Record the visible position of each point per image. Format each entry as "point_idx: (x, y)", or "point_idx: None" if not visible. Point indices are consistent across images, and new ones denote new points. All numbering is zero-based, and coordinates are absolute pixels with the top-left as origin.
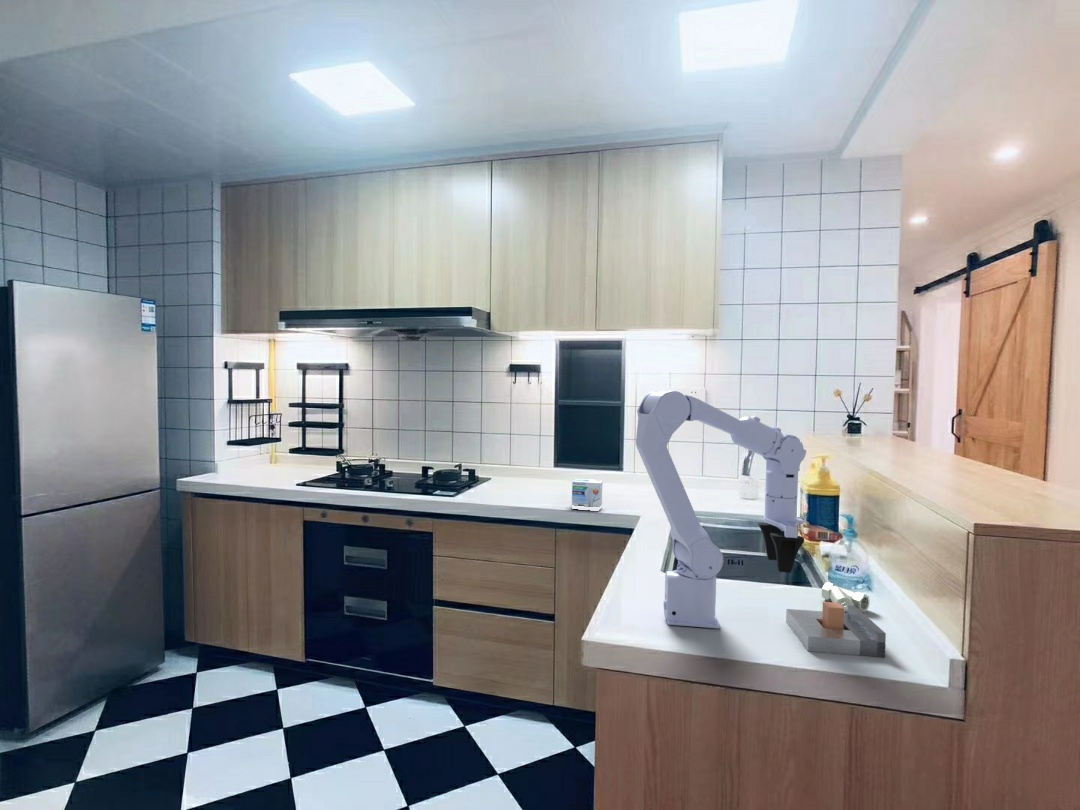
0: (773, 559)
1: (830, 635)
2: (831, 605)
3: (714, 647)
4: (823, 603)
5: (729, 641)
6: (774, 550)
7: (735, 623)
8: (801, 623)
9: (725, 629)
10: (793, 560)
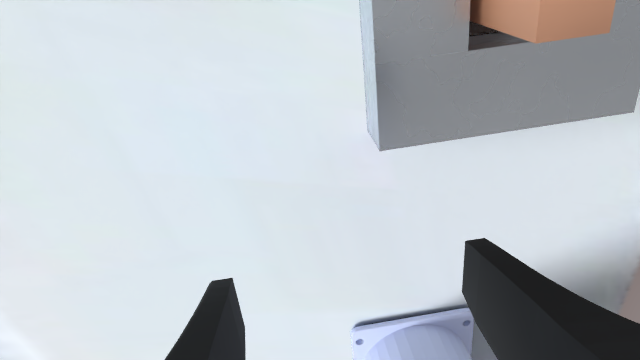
0: (238, 309)
1: (630, 28)
2: (585, 8)
3: None
4: (544, 41)
5: None
6: (231, 354)
7: (416, 273)
8: (524, 116)
9: None
10: (544, 281)
